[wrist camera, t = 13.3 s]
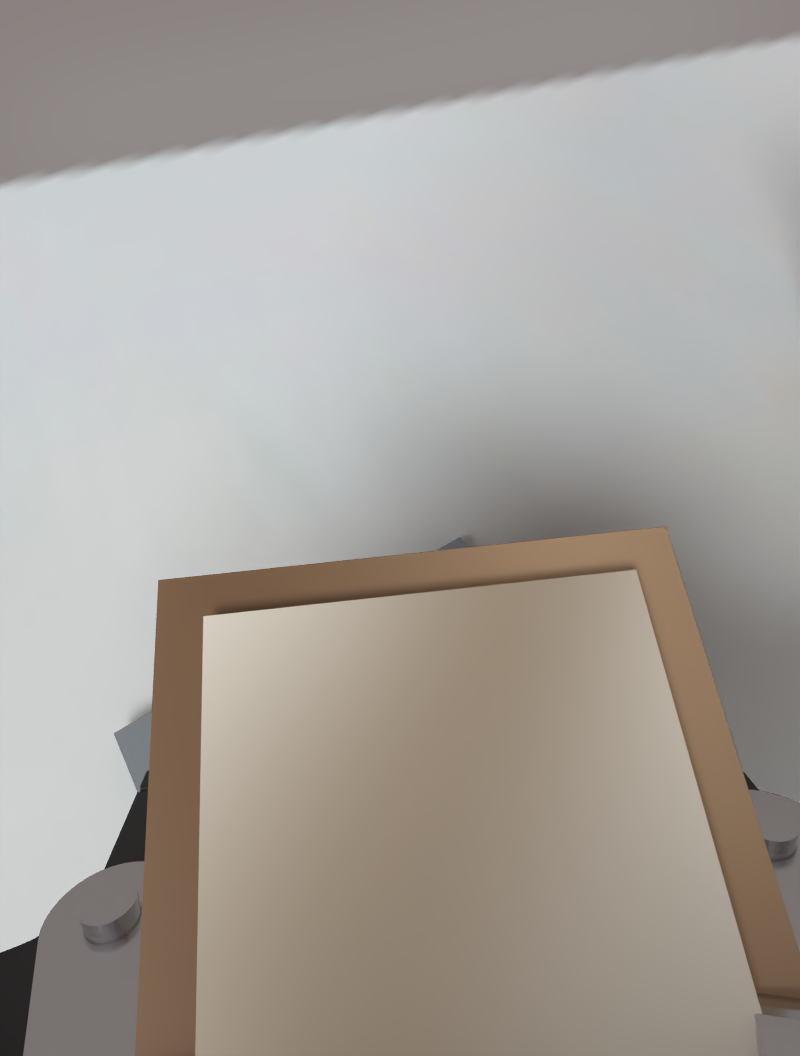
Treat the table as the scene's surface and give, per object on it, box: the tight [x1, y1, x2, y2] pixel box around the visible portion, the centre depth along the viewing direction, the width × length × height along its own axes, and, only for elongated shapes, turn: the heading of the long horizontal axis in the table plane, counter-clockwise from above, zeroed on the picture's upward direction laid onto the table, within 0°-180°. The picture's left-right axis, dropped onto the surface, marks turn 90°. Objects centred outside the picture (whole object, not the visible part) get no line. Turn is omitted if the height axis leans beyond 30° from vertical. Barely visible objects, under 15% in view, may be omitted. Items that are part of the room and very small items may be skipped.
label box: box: [135, 527, 800, 1056], centre depth 9 cm, size 5×5×10 cm
